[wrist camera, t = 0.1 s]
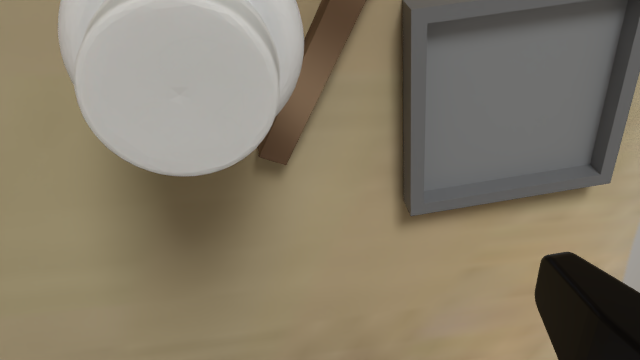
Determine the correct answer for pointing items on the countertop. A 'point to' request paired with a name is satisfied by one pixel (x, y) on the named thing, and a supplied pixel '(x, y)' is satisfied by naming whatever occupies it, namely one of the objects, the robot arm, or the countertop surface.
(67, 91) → the countertop surface
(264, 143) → the strip
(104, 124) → the supplement bottle
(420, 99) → the square tray
